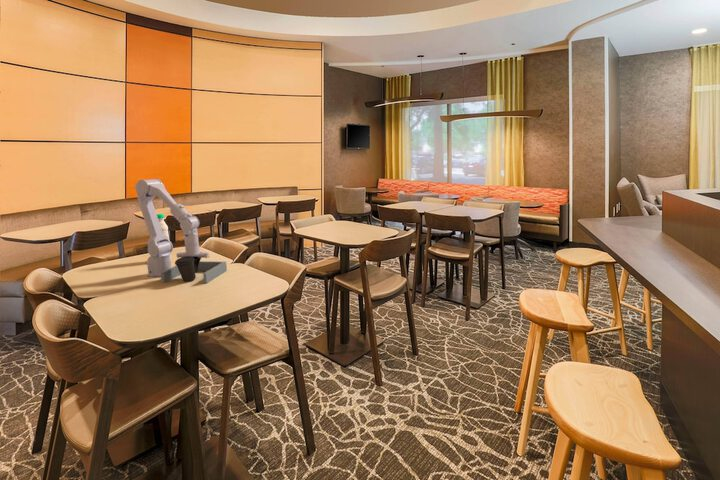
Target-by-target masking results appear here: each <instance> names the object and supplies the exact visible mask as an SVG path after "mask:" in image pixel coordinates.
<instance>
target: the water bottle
mask: <svg viewBox="0 0 720 480" xmlns="http://www.w3.org/2000/svg"><path fill="white" fill-rule="evenodd" d="M156 214H157V217H158V220H159V223H160V226H161V229H162V232H163V234H164V235H166V236H167V237H168V238H169V239H170V235H169V234H170V233H169V227H168V225H167V224H166V222H165V220H164V219H165V214H164V213H156ZM158 242H160V241H157V243H158ZM170 260H171V261H172V253H171V254H170Z"/></svg>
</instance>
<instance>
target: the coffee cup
mask: <svg viewBox="0 0 720 480" xmlns="http://www.w3.org/2000/svg"><path fill="white" fill-rule="evenodd" d="M194 260H195V259H194V258H193V257H191V256H186V257H179V258H177V259H176V260H175V262H174V264H175V265H174V266H176V265H177V267H178V270H179V272H180V276H181V279H182V281H183V282H185V283H188V282H193V281H195V279H196V277H197V276H196V273H195V267H194Z"/></svg>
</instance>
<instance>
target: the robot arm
mask: <svg viewBox="0 0 720 480" xmlns="http://www.w3.org/2000/svg"><path fill="white" fill-rule="evenodd" d="M134 188H135V191H136V195H137V202H138V205H139V208H140V210H141V213H142V217H143V219H144V223H145V226H146V228H147V232H148V235H149V238H148V240H147V241H146V245H147V253H148V255H149V257H148V258H147V260H146V266H147V277H156V278H157V277H161V273H162V272H164V271H166V270H168V269H170V268H172V259H171V260H170V254H171V255H172V252H173V249H174V245H173V243H172V241H170V237H169V238H168V237H167V236H166V235H164V234H163V232H162V229H161V226H160V223H159V220H158V217H157V214H158V213H157V211H156V209H155V205H154V202H153V201H154V199H155V198H156V197H157V198H159V199H160V200H161V201H162V202H163V203H164V204H165V205H166V206H168V207H169V209H170V210H169V212H170V214H171V215H172V216H173V217H174V218H175V219H176V220H177V221H178V223H180V224H179V226H180V229H181V230H182V234H183V238H184V247H185V248H184V249H185V252H177V253H176V258H177V259H179V258H181V257H186V256H191V257H193V258H194V259H195V260H194V267H195V274H196V273H198V271H197V270H198V265H199V262H200V261H202V259H203V258H205V259H208V258H210V252H202V251H200V244H199V243H200V242H199V234H198V228H199V227H200V224H201V223H200V220H199V218H198V217H197V216H196V215H192V214H191V213H190V212H189V211H188V210H187V209H186V208H185V205H183V204H181V203H177V201H175V199H173V197H172V196H171V194H170V193H169V192H168V191H167V189H166V187H165V184H164V183H162V181H161V180H160V179H159V178H151V179H140V180H138V181H137V182H136V184H135V186H134ZM157 241H160V242H158V243H157ZM161 278H162V277H161Z"/></svg>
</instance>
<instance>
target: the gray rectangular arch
mask: <svg viewBox="0 0 720 480" xmlns="http://www.w3.org/2000/svg"><path fill="white" fill-rule="evenodd" d="M227 268H228V267H227V261H214V260H213V261H211V260H209V261H207V260H206V261H205V260H200V262H199V265H198V270H197V272H202V273H203V272H204V273H203V274H202V275H203V276H202V277H203V284H206V285H207V284H208V283H211V282H212V281H213V280H215V279H216V278H218V277H220V276H221V275H222V274H224V273H225V272H228V271H227V270H228V269H227ZM178 276H181V274H180V272H179V270H178V267H177V265H174V266H171V268H170V269H168V270H166V271H164V272H162V273H161V282H162V283H163V284H164V283H165V284H166V283H167V282H169V281H171V280H174V279H175V278H176V277H178Z"/></svg>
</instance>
